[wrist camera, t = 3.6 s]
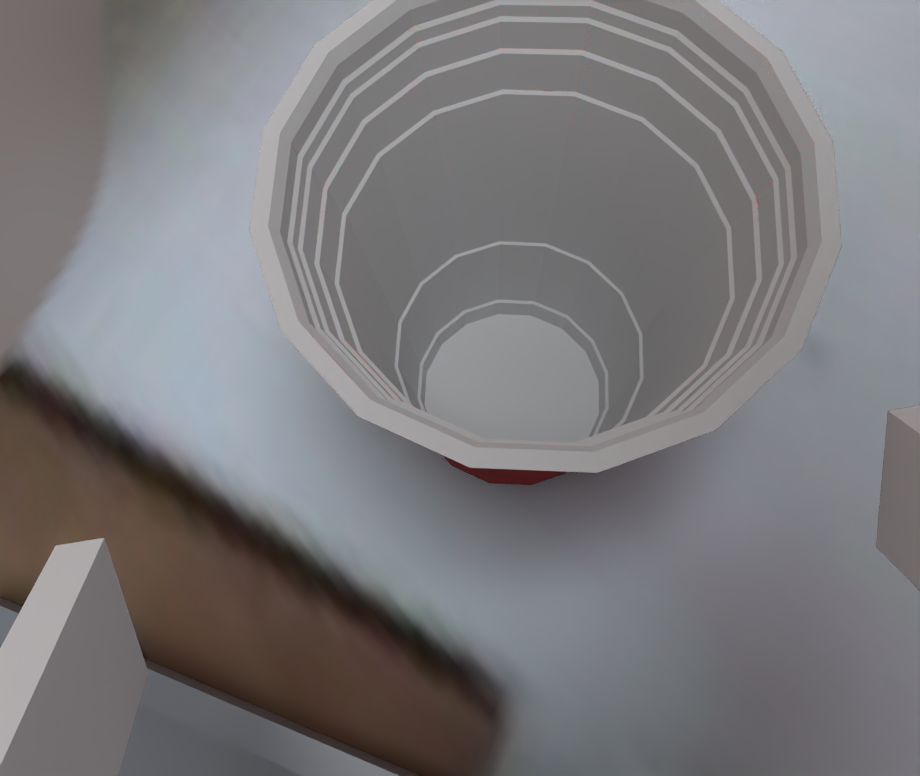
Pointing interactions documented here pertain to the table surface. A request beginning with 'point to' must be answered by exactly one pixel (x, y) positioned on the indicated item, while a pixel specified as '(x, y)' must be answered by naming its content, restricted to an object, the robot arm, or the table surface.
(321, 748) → the grey shallow square tray
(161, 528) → the table surface
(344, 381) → the plastic cup
